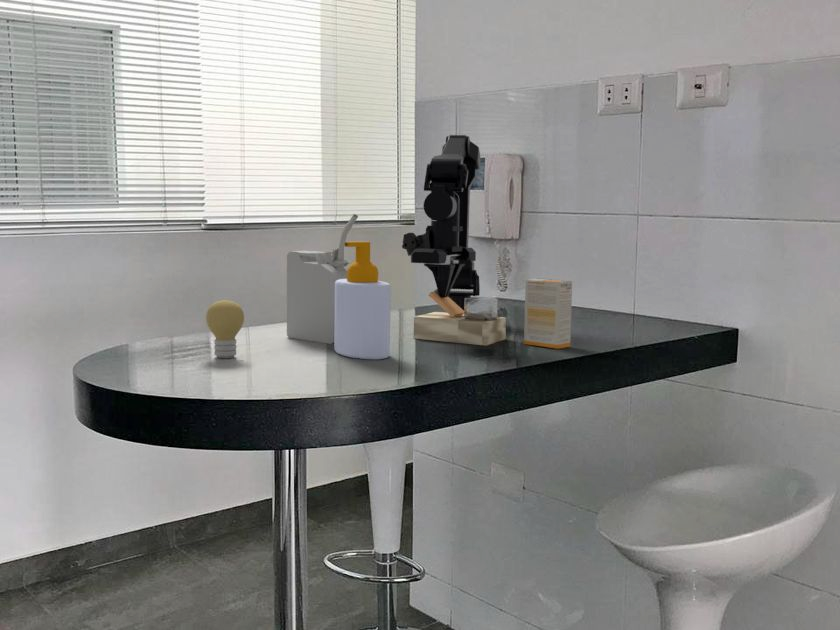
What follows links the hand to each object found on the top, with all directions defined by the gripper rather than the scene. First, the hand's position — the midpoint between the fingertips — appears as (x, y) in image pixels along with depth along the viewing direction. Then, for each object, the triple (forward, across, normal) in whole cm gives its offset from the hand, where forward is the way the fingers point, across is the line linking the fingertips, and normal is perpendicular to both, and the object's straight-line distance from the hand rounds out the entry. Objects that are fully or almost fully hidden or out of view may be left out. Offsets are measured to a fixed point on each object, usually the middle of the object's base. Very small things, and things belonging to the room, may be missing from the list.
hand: (443, 297), depth 182 cm
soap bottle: (+9, +27, -3) cm, 28 cm away
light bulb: (+9, +43, -21) cm, 49 cm away
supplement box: (+9, -2, +22) cm, 23 cm away
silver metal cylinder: (+8, 0, +8) cm, 11 cm away
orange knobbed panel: (+1, 0, 0) cm, 2 cm away
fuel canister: (+8, +17, -18) cm, 26 cm away
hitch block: (+8, 0, +4) cm, 9 cm away
